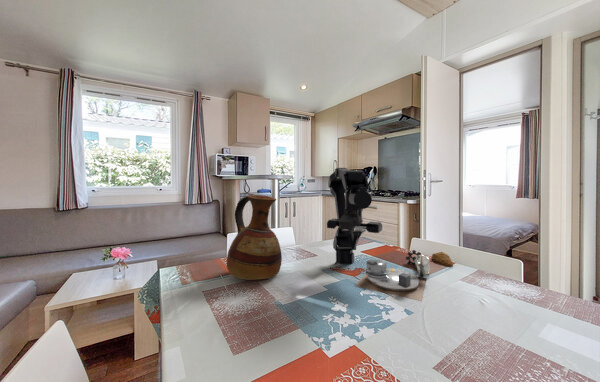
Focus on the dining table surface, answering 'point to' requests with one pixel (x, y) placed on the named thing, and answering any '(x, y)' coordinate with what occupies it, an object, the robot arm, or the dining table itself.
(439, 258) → the croissant
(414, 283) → the turntable
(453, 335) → the dining table surface
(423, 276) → the dial gauge
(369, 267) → the cover
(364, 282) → the base board
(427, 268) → the valve
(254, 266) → the ceramic pitcher
